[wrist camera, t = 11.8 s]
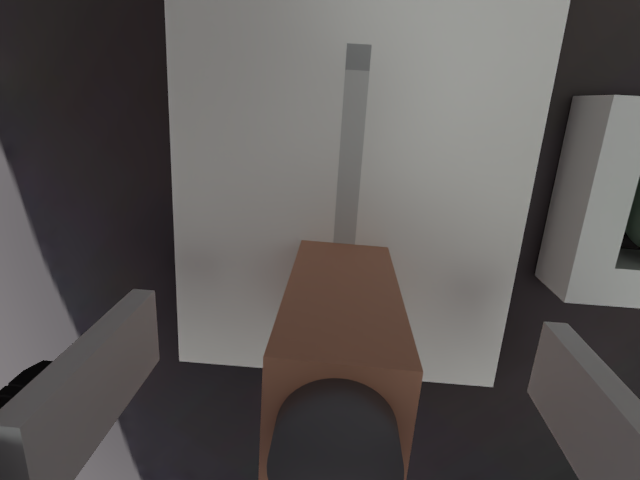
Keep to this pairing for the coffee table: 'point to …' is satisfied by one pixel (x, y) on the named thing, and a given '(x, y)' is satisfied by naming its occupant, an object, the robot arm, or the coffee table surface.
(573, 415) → the robot arm
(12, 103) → the coffee table surface
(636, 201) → the button
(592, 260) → the button housing
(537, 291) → the coffee table surface
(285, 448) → the block with dark dome
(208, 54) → the paper
